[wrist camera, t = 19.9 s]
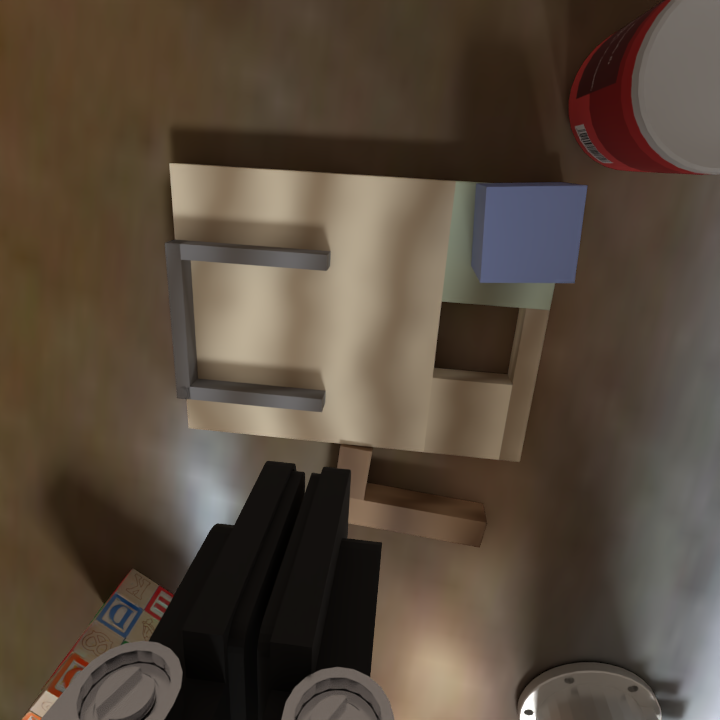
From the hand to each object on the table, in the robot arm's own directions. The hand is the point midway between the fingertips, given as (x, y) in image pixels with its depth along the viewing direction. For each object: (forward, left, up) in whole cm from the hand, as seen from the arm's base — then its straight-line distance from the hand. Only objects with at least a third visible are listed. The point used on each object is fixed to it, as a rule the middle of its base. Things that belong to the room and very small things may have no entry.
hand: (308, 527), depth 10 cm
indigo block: (-8, -4, -25) cm, 27 cm away
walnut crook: (-3, +17, -27) cm, 32 cm away
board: (+2, +4, -27) cm, 27 cm away
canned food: (-14, -11, -27) cm, 33 cm away
